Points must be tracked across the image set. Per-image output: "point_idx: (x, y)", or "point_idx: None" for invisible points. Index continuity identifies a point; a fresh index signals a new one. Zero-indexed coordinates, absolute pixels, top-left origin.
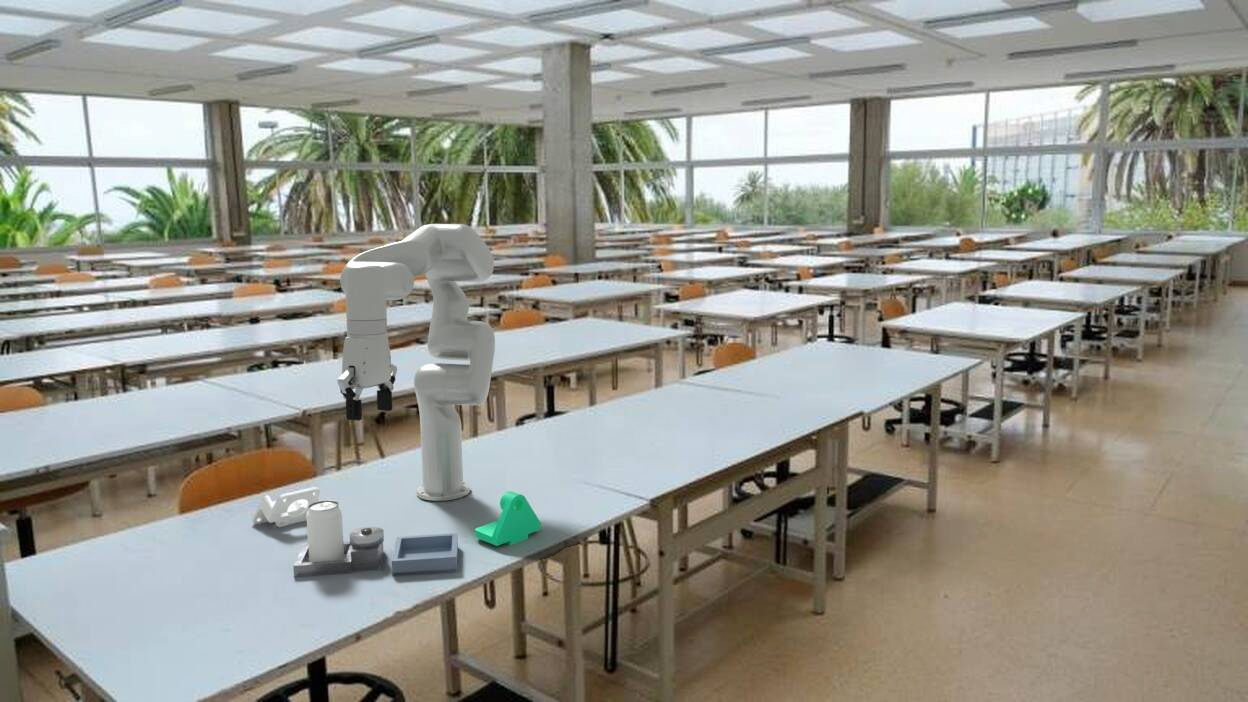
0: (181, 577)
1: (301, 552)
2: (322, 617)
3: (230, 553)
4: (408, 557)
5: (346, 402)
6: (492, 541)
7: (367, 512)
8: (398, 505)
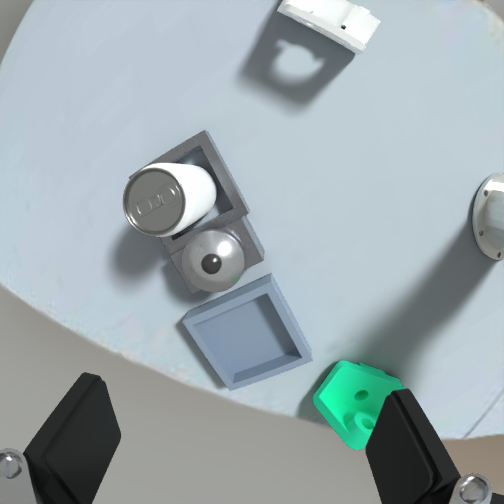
0: (101, 42)
1: (174, 151)
2: (75, 286)
3: (181, 29)
4: (243, 308)
5: (38, 437)
6: (317, 393)
7: (410, 128)
8: (449, 167)
